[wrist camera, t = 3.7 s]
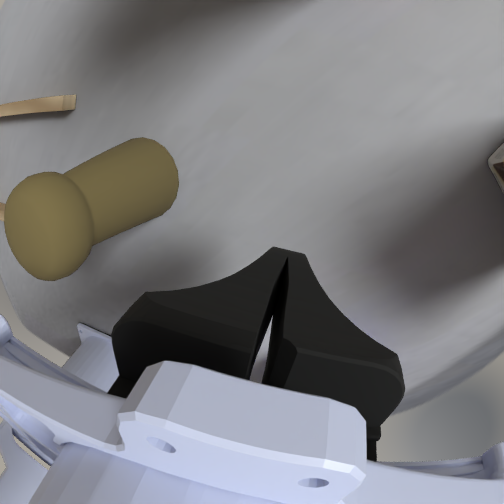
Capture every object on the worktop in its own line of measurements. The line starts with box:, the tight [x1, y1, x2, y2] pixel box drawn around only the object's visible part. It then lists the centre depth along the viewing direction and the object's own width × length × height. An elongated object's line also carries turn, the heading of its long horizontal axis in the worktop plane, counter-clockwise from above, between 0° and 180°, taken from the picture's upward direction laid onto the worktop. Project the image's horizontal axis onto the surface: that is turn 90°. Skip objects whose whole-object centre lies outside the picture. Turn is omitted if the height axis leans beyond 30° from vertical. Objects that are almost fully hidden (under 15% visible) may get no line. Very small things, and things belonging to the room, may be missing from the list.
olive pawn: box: [4, 137, 179, 281], centre depth 15 cm, size 6×6×11 cm
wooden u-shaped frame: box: [0, 95, 76, 221], centre depth 21 cm, size 12×15×2 cm
